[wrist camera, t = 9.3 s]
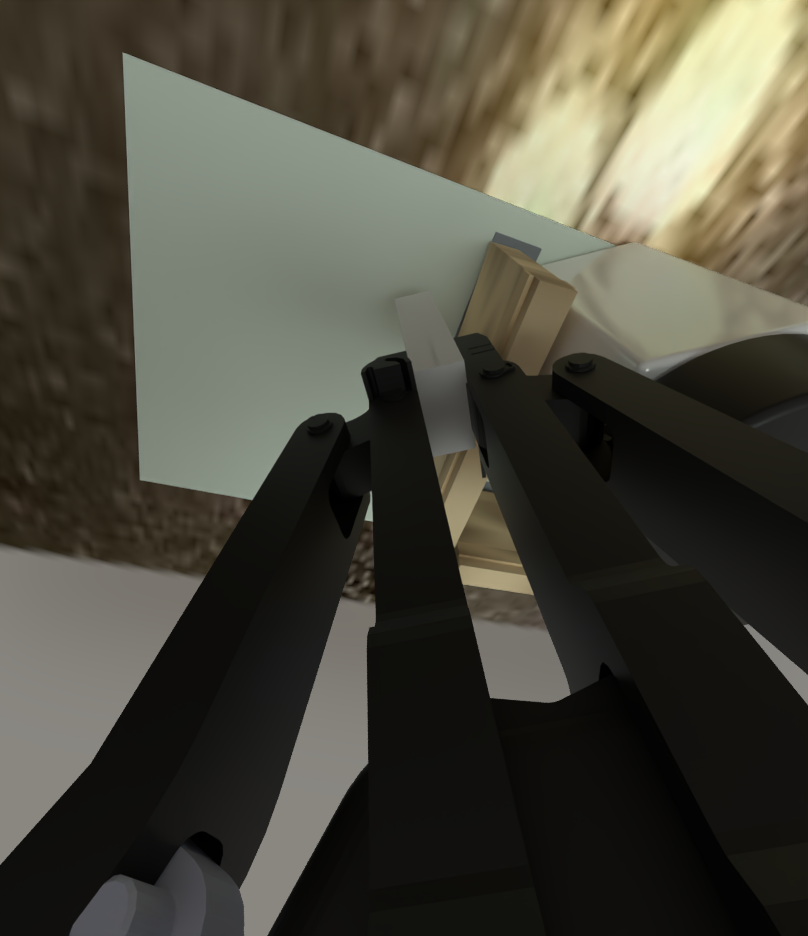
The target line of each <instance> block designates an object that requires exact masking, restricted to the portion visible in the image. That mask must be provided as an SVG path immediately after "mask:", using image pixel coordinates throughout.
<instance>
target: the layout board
mask: <svg viewBox="0 0 808 936" xmlns="http://www.w3.org/2000/svg"><path fill="white" fill-rule="evenodd" d="M123 72H124V97H125V121H126V146H127V171H128V195H129V220H130V245H131V270H132V294H133V319H134V344H135V368H136V393H137V418H138V443H139V467H140V480H143V481H149V482H154V483H160V484H165V485H171V486H177V487H182V488H188V489H194V490H199V491H205V492H210V493H216V494H222V495H227V496H233V497H238V498H244V499H250V500H253V498H254V497H255V495H256V493H257V492H258V490H259V488H260V487H261V485H262V484H263V482H264V480H265V479H266V477H267V475H268V474H269V472H270V470H271V469H272V467H273V466H274V464H275V462H276V461H277V459H278V457H279V456H280V454H281V453H282V451H283V449H284V448H285V446H286V444H287V443H288V441H289V439H290V438H291V436H292V435H293V433H294V431H295V430H296V428H297V427H298V426H299V425H300V424H301V423H302V422H304V421H305V420H307V419H308V418H309V417H311V416H315V415H316V414H323V413H338V414H340V415H342V416H343V418H344V419H345V422H348V421H350V420H353V419H355V418H357V417H359V416H361V415H362V414H364V413H365V412H366V411H367V410H369V400H368V397H367V393H366V390H365V386H364V383H363V380H362V376H361V371H362V368H363V367H365V366H366V365H367V364H368V363H370V362H372V361H374V360H375V359H376V358H377V357H381V356H385V355H389V354H394V353H398V352H402V351H406V350H405V346H404V341H403V336H402V332H401V327H400V323H399V318H398V313H397V309H396V304H395V300H394V299H397V298H401V297H405V296H409V295H413V294H417V293H422V292H426V291H430V293H431V295H432V297H433V299H434V301H435V303H436V305H437V307H438V309H439V311H440V313H441V315H442V317H443V319H444V321H445V323H446V325H447V327H448V329H449V331H450V333H451V335H452V337H453V338H456V337H458V335H459V332H460V329H461V326H462V323H463V320H464V318H465V315H466V312H467V309H468V306H469V303H470V300H471V297H472V295H473V292H474V289H475V286H476V283H477V280H478V277H479V274H480V272H481V269H482V266H483V263H484V260H485V257H486V254H487V251H488V249H489V246H490V243H491V242H494V243H497V244H501V245H504V246H507V247H510V248H514V249H517V250H520V251H521V252H523V253H524V254H525V255H527V256H528V257H530V258H531V259H532V260H534V261H535V262H537V263H538V264H540V265H545V264H549V263H553V262H557V261H561V260H564V259H568V258H572V257H576V256H580V255H584V254H588V253H592V252H596V251H600V250H604V249H608V248H612V247H616V245H614V244H611V243H609V242H606V241H604V240H601V239H599V238H596V237H593V236H591V235H588V234H586V233H583V232H581V231H578V230H576V229H573V228H570V227H568V226H565V225H563V224H560V223H558V222H555V221H553V220H550V219H547V218H545V217H542V216H540V215H537V214H535V213H532V212H530V211H527V210H524V209H522V208H519V207H517V206H514V205H512V204H509V203H507V202H504V201H501V200H499V199H496V198H494V197H491V196H489V195H486V194H484V193H481V192H478V191H476V190H473V189H471V188H468V187H466V186H463V185H461V184H458V183H455V182H453V181H450V180H448V179H445V178H443V177H440V176H438V175H435V174H432V173H430V172H427V171H425V170H422V169H420V168H417V167H415V166H412V165H409V164H407V163H404V162H402V161H399V160H397V159H394V158H392V157H389V156H386V155H384V154H381V153H379V152H376V151H374V150H371V149H369V148H366V147H363V146H361V145H358V144H356V143H353V142H351V141H348V140H346V139H343V138H340V137H338V136H335V135H333V134H330V133H328V132H325V131H323V130H320V129H317V128H315V127H312V126H310V125H307V124H305V123H302V122H300V121H297V120H294V119H292V118H289V117H287V116H284V115H282V114H279V113H277V112H274V111H271V110H269V109H266V108H264V107H261V106H259V105H256V104H254V103H251V102H248V101H246V100H243V99H241V98H238V97H236V96H233V95H231V94H228V93H225V92H223V91H220V90H218V89H215V88H213V87H210V86H208V85H205V84H202V83H200V82H197V81H195V80H192V79H190V78H187V77H185V76H182V75H179V74H177V73H174V72H172V71H169V70H167V69H164V68H162V67H159V66H156V65H154V64H151V63H149V62H146V61H144V60H141V59H139V58H136V57H133V56H131V55H128V54H126V53H123ZM482 491H487V492H492V493H494V492H493V490H492V487H491V485H490V482H489V480H488V479H487V481H486V483H485V485H484V488H483V490H482ZM370 495H371V497H370V504H369V507H368V510H367V513H366V517H365V520H367V521H373V512H372V491H370Z"/></svg>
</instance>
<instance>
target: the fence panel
mask: <svg viewBox="0 0 808 936" xmlns="http://www.w3.org/2000/svg"><path fill="white" fill-rule="evenodd" d="M575 289H576V288H575V287H573V286H572V285H570V284H569V283H567V282H566V281H563V280H561V279H559V278H558V277H556V276H555V275H554V274H552V273H551V272H549V271H548V270H547V269H545V268H544V267H542V266H541V265H540V264H538V263H537V262H535V261H534V260H532V259H531V258H530V257H528V256H527V255H525V254H524V253H523V252H521V251H520V250H517V249H514V248H510V247H507V246H504V245H501V244H497V243H494V242H491V243H490V246H489V249H488V251H487V254H486V257H485V260H484V263H483V266H482V269H481V272H480V274H479V277H478V280H477V283H476V286H475V289H474V292H473V295H472V297H471V300H470V303H469V306H468V309H467V312H466V315H465V318H464V320H463V323H462V326H461V329H460V332H459V335H458V337H460V336H465V335H469V334H473V333H479V334H482V335H484V336H487V337H488V339H489V340H490V342H491V343H492V344H493V346H494V347H495V350H497V352H498V353H499V355H500V356H501V358H502V359H503V360H504V361H510V362H514V363H516V364H517V365H519V366H520V368H521V369H522V371H523V372H524V373H525V375H529V376H538V374H539V372H540V369H541V367H542V365H543V363H544V361H545V359H546V357H547V355H548V353H549V351H550V349H551V347H552V345H553V343H554V340H555V338H556V336H557V334H558V332H559V330H560V328H561V326H562V324H563V322H564V320H565V318H566V316H567V314H568V311H569V309H570V307H571V305H572V303H573V301H574V299H575V297H576V295H577V293H578V291H576V290H575ZM474 438H475V436H474ZM475 445H476V448H473V449H468V450H464V451H459V452H455V453H450V454H445V455H441V456H436V457H433V459H434V464H435V468H436V472H437V476H438V481H439V485H440V489H441V494H442V498H443V502H444V507H445V511H446V515H447V519H448V524H449V528H450V532H451V537H452V541H453V545H454V548H455V546H456V543H457V541H458V539H459V537H460V535H461V533H462V531H463V529H464V527H465V525H466V523H467V521H468V519H469V517H470V514H471V512H472V510H473V508H474V506H475V504H476V502H477V500H478V498H479V496H480V494H481V492H482V490H483V488H484V485H485V483H486V481H487V479H488V477H487V475H486V478H482V472H481V464H480V456H479V449H478V443H477V441H476V438H475Z"/></svg>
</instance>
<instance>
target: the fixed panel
mask: <svg viewBox="0 0 808 936" xmlns="http://www.w3.org/2000/svg"><path fill="white" fill-rule="evenodd" d="M454 550H455V554H456V558H457V562H458V567H459V571H460V575H461V580H462V584H465V585H472V586H478V587H485V588H492V589H498V590H505V591H512V592H518V593H525V594H532V595H534V594H533V591H532V589H531V586H530V583H529V581H528V578H527V576H526V573H525V571H524V568H523V566H522V563H521V561H520V558H519V556H518V553H517V551H516V548H515V546H514V543H513V540H512V538H511V535H510V533H509V530H508V528H507V525H506V523H505V520H504V518H503V515H502V513H501V510H500V508H499V505H498V503H497V500H496V497H495V495H494V493H492V492H487V491H482V492H481V494H480V496H479V498H478V500H477V502H476V504H475V506H474V508H473V510H472V512H471V514H470V517H469V519H468V521H467V523H466V525H465V527H464V529H463V531H462V533H461V535H460V537H459V539H458V541H457V543H456V546H455V548H454Z"/></svg>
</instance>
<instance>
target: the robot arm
mask: <svg viewBox="0 0 808 936" xmlns="http://www.w3.org/2000/svg"><path fill="white" fill-rule="evenodd" d="M394 300H395V304H396V309H397V313H398V318H399V323H400V327H401V332H402V336H403V341H404V346H405V350H406V351H402V352H398V353H394V354H389V355H385V356H381V357H377V358H376V359H375V360H374V361H372V362H370V363H368V364H367V365H366V366H365V367H363V368H362V371H361V376H362V380H363V383H364V386H365V390H366V393H367V397H368V400H369V410H367V411H366V412H365V413H364V414H362V415H361V416H359V417H357V418H355V419H353V420H350V421H348V422H345V419H344V418H343V416H342V415H340V414H338V413H323V414H316V415H315V416H311V417H309V418H308V419H307V420H305V421H304V422H302V423H301V424H300V425H299V426H298V427H297V428H296V430H295V431H294V433H293V435H292V436H291V438H290V439H289V441H288V443H287V444H286V446H285V448H284V449H283V451H282V453H281V454H280V456H279V457H278V459H277V461H276V462H275V464H274V466H273V467H272V469H271V470H270V472H269V474H268V475H267V477H266V479H265V480H264V482H263V484H262V485H261V487H260V488H259V490H258V492H257V493H256V495H255V497H254V498H253V500H252V501H251V503H250V505H249V506H248V508H247V510H246V511H245V513H244V515H243V516H242V518H241V519H240V521H239V523H238V524H237V526H236V528H235V529H234V531H233V532H232V534H231V536H230V537H229V539H228V541H227V542H226V544H225V546H224V547H223V549H222V550H221V552H220V554H219V555H218V557H217V559H216V560H215V562H214V563H213V565H212V567H211V568H210V570H209V572H208V573H207V575H206V576H205V578H204V580H203V581H202V583H201V585H200V586H199V588H198V590H197V591H196V593H195V594H194V596H193V598H192V600H191V601H190V603H189V604H188V606H187V607H186V609H185V611H184V612H183V614H182V616H181V617H180V619H179V621H178V622H177V624H176V626H175V627H174V629H173V630H172V632H171V634H170V636H169V637H168V638H167V640H166V642H165V644H164V645H163V647H162V648H161V650H160V652H159V653H158V655H157V656H156V658H155V660H154V661H153V663H152V665H151V666H150V668H149V669H148V671H147V673H146V675H145V676H144V678H143V679H142V681H141V683H140V684H139V686H138V688H137V689H136V691H135V692H134V694H133V696H132V697H131V699H130V701H129V702H128V704H127V705H126V707H125V709H124V710H123V712H122V714H121V715H120V717H119V718H118V720H117V722H116V723H115V725H114V727H113V728H112V730H111V731H110V733H109V735H108V736H107V738H106V740H105V741H104V743H103V745H102V746H101V748H100V749H99V751H98V753H97V754H96V756H95V758H94V759H93V761H92V763H91V764H90V765H89V766H88V767H87V768H86V769H85V771H84V772H83V773H82V774H81V775H80V776H79V777H78V778H77V780H76V781H75V782H74V783H73V784H72V785H71V786H70V788H69V789H68V790H67V791H66V792H65V793H64V794H63V795H62V796H61V797H60V799H59V800H58V801H57V802H56V803H55V804H54V805H53V806H52V808H51V809H50V810H49V811H48V812H47V813H46V814H45V816H44V817H43V818H42V819H41V820H40V821H39V822H38V823H37V824H36V826H35V827H34V828H33V829H32V830H31V831H30V832H29V833H28V834H27V836H26V837H25V838H24V839H23V840H22V841H21V842H20V844H19V845H18V846H17V847H16V848H15V849H14V850H13V851H12V852H11V854H10V855H9V856H8V857H7V858H6V859H5V861H4V862H2V864H1V865H0V936H244V906H243V901H242V898H241V894H240V891H239V889H240V887H241V885H242V883H243V881H244V879H245V878H246V876H247V873H248V871H249V869H250V867H251V865H252V862H253V860H254V858H255V856H256V853H257V851H258V849H259V846H260V844H261V842H262V840H263V838H264V835H265V833H266V830H267V827H268V825H269V822H270V819H271V816H272V813H273V811H274V808H275V805H276V802H277V800H278V797H279V794H280V790H281V788H282V784H283V781H284V778H285V774H286V771H287V768H288V765H289V762H290V759H291V755H292V752H293V748H294V746H295V742H296V739H297V736H298V733H299V729H300V726H301V723H302V720H303V717H304V713H305V710H306V707H307V704H308V700H309V697H310V694H311V691H312V688H313V684H314V681H315V678H316V675H317V671H318V668H319V665H320V662H321V659H322V655H323V652H324V649H325V646H326V642H327V639H328V636H329V633H330V629H331V626H332V623H333V620H334V617H335V613H336V610H337V607H338V604H339V601H340V597H341V594H342V591H343V588H344V584H345V581H346V578H347V575H348V571H349V568H350V565H351V562H352V559H353V555H354V552H355V549H356V546H357V542H358V539H359V536H360V533H361V530H362V526H363V523H364V520H365V517H366V513H367V510H368V507H369V504H370V497H371V495H370V491H372V512H373V542H374V572H375V602H376V623H375V627H370V628H369V632H368V636H367V696H368V697H367V698H368V764H367V766H366V767H365V768H364V769H363V770H362V771H361V772H360V774H359V775H358V776H357V778H356V779H355V781H354V782H353V783H352V785H351V786H350V788H349V789H348V791H347V792H346V794H345V796H344V798H343V799H342V801H341V803H340V805H339V806H338V809H337V810H336V812H335V814H334V815H333V817H332V819H331V821H330V823H329V825H328V826H327V828H326V830H325V832H324V834H323V836H322V837H321V839H320V841H319V843H318V845H317V847H316V848H315V850H314V852H313V854H312V856H311V857H310V859H309V861H308V863H307V865H306V866H305V868H304V870H303V872H302V874H301V876H300V877H299V879H298V881H297V883H296V885H295V887H294V888H293V890H292V892H291V894H290V896H289V897H288V899H287V901H286V903H285V905H284V906H283V908H282V910H281V913H280V914H279V916H278V917H277V919H276V921H275V923H274V925H273V927H272V928H271V930H270V932H269V934H268V936H808V705H807V704H806V702H805V701H804V700H803V699H802V697H801V696H800V695H799V694H798V693H797V691H796V690H795V689H794V688H793V686H792V685H791V684H790V683H789V681H788V680H787V679H786V678H785V676H784V675H783V674H782V673H781V672H780V670H779V669H778V668H777V666H776V665H775V664H774V663H773V662H772V660H771V659H770V658H769V657H768V655H767V654H766V653H765V652H764V650H763V649H762V648H761V647H760V645H759V644H758V643H757V642H756V641H755V639H754V638H753V637H752V635H751V634H750V633H749V632H748V631H747V629H746V628H745V627H744V626H743V624H742V623H741V622H740V621H739V619H738V618H737V617H736V616H735V614H734V613H733V612H732V611H731V609H732V610H733V611H734V612H735V613H736V614H737V615H739V616H740V617H741V618H742V619H743V620H744V621H746V622H747V623H748V624H749V625H750V626H752V627H753V628H754V629H755V630H756V631H757V632H759V633H760V634H761V635H762V636H763V637H764V638H766V639H767V640H768V641H769V642H770V643H772V644H773V645H774V646H775V647H776V648H777V649H778V650H780V651H781V652H782V653H783V654H784V655H786V656H787V657H788V658H789V659H790V660H791V661H792V662H794V663H795V664H796V665H797V666H798V667H800V668H801V669H802V670H803V671H804V672H805V673H806V674H808V453H806V452H804V451H802V450H800V449H797V448H795V447H793V446H791V445H789V444H787V443H785V442H783V441H781V440H778V439H776V438H774V437H772V436H770V435H768V434H766V433H764V432H762V431H759V430H757V429H755V428H753V427H751V426H749V425H747V424H745V423H743V422H740V421H738V420H736V419H734V418H732V417H730V416H728V415H726V414H724V413H721V412H719V411H717V410H715V409H713V408H711V407H709V406H707V405H704V404H702V403H700V402H698V401H696V400H694V399H692V398H690V397H688V396H685V395H683V394H681V393H679V392H677V391H675V390H673V389H671V388H669V387H666V386H664V385H662V384H660V383H658V382H656V381H654V380H652V379H650V378H647V377H645V376H643V375H641V374H639V373H637V372H635V371H633V370H631V369H628V368H626V367H624V366H622V365H620V364H618V363H616V362H614V361H612V360H609V359H607V358H605V357H603V356H600V355H596V354H588V353H585V352H583V353H579V354H578V353H573V354H571V355H568V356H564V357H562V358H560V359H558V360H556V361H555V362H554V363H553V365H552V375H538V376H529V375H525V373H524V372H523V371H522V369H521V368H520V366H519V365H517V364H516V363H514V362H510V361H504V360H503V359H502V358H501V356H500V355H499V353H498V352H497V350H495V347H494V346H493V344H492V343H491V342H490V340H489V339H488V337H487V336H484V335H482V334H479V333H473V334H469V335H465V336H460V337H456V338H453V337H452V335H451V333H450V331H449V329H448V327H447V325H446V323H445V321H444V319H443V317H442V315H441V313H440V311H439V309H438V307H437V305H436V303H435V301H434V299H433V297H432V295H431V293H430V291H426V292H422V293H417V294H413V295H409V296H405V297H401V298H397V299H394ZM605 424H606V425H607V426H608V427H609V429H610V430H611V432H612V435H613V437H610V436H608V435H607V434H605V433H604V429H605ZM474 436H475V438H476V441H477V443H478V449H479V456H480V464H481V472H482V478H486V475H487V477H488V480H489V482H490V485H491V487H492V490H493V492H494V495H495V497H496V500H497V503H498V505H499V508H500V510H501V513H502V515H503V518H504V520H505V523H506V525H507V528H508V530H509V533H510V535H511V538H512V540H513V543H514V546H515V548H516V551H517V553H518V556H519V558H520V561H521V563H522V566H523V568H524V571H525V573H526V576H527V578H528V581H529V583H530V586H531V589H532V591H533V594H534V596H535V599H536V601H537V604H538V606H539V609H540V611H541V614H542V616H543V619H544V621H545V624H546V626H547V629H548V632H549V634H550V637H551V639H552V642H553V644H554V647H555V649H556V652H557V654H558V657H559V659H560V662H561V664H562V667H563V669H564V672H565V675H566V678H567V681H568V684H569V689H570V693H571V695H569V696H567V697H565V698H564V699H562V700H559V701H557V702H552V703H541V702H530V701H518V700H506V699H494V698H490V696H489V692H488V688H487V683H486V679H485V675H484V671H483V666H482V662H481V658H480V653H479V649H478V645H477V641H476V637H475V632H474V628H473V624H472V619H471V615H470V611H469V608H468V605H467V601H466V597H465V593H464V588H463V584H462V580H461V575H460V571H459V567H458V562H457V558H456V554H455V550H454V545H453V541H452V537H451V532H450V528H449V524H448V519H447V515H446V511H445V507H444V502H443V498H442V494H441V489H440V485H439V481H438V476H437V472H436V468H435V464H434V459H433V457H436V456H441V455H445V454H450V453H455V452H459V451H464V450H468V449H473V448H476V445H475V438H474ZM644 535H645V536H646V537H647V538H649V539H650V540H651V541H652V542H653V543H654V544H656V545H657V546H658V547H659V548H660V549H661V550H663V551H664V552H665V553H666V554H667V555H669V556H670V557H671V558H672V559H673V560H674V561H676V562H677V563H678V564H679V565H677V566H670V565H668V564H666V563H665V562H664V561H663V560H662V559H661V557H660V556H659V555H658V553H657V552H656V551H655V549H654V548H653V547H652V545H651V544H650V543H649V541H648V540H647V538H646V537H645V536H644Z"/></svg>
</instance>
